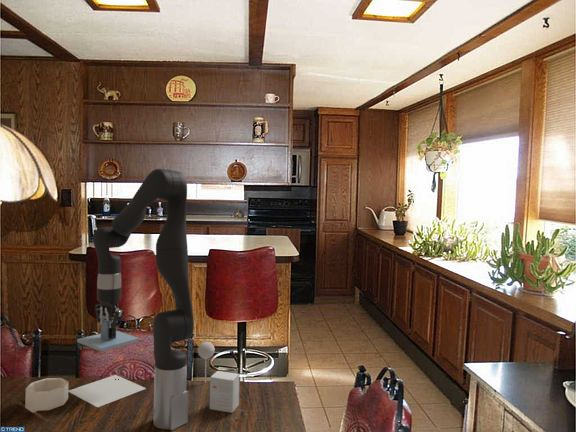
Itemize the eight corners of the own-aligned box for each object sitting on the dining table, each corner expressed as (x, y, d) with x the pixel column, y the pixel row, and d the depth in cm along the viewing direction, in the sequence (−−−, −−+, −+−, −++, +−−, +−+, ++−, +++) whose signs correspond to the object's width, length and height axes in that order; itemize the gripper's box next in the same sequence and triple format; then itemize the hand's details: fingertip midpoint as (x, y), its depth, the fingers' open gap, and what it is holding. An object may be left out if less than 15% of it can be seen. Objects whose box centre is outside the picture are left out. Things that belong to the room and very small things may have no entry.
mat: (146, 390, 153) (146, 388, 153) (97, 409, 139) (97, 407, 139) (115, 376, 164) (115, 374, 164) (67, 392, 149) (67, 390, 149)
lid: (139, 340, 152) (139, 320, 152) (101, 351, 141) (101, 329, 141) (114, 332, 160) (115, 313, 160) (77, 342, 149) (77, 321, 149)
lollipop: (215, 380, 163) (217, 340, 163) (211, 387, 158) (212, 345, 157) (199, 379, 164) (200, 338, 163) (194, 385, 158) (195, 344, 158)
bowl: (73, 402, 142) (73, 384, 142) (37, 415, 133) (37, 396, 133) (55, 393, 149) (56, 375, 148) (20, 404, 140) (20, 386, 139)
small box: (239, 405, 145) (240, 373, 144) (232, 413, 139) (233, 380, 139) (216, 401, 147) (217, 370, 146) (208, 409, 141) (209, 376, 141)
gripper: (131, 287, 149) (130, 338, 149) (107, 282, 157) (106, 330, 158) (111, 290, 143) (110, 344, 143) (87, 284, 151) (86, 335, 152)
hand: (108, 336), depth 150 cm, fingers closed on lid, 3 cm apart
